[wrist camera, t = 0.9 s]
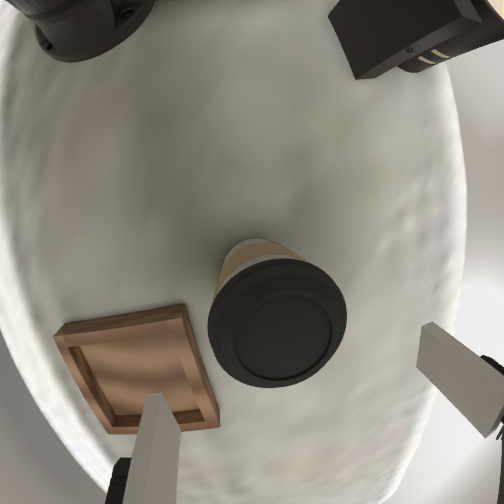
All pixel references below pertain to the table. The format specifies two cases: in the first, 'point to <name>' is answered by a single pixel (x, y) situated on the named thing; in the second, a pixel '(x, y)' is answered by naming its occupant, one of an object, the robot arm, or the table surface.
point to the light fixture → (413, 32)
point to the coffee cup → (274, 316)
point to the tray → (139, 368)
